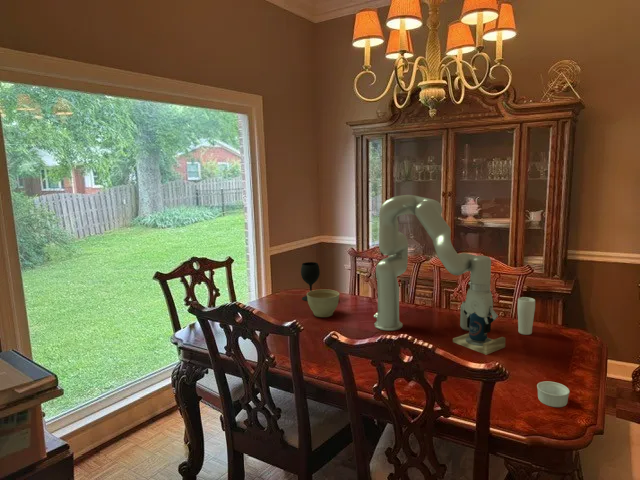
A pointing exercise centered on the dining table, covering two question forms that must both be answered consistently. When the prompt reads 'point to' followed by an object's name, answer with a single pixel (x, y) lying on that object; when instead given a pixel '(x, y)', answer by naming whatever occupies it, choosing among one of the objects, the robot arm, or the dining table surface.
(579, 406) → the dining table surface
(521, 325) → the drinking glass
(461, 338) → the holder board
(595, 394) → the dining table surface
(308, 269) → the wine glass
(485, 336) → the soda can
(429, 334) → the dining table surface
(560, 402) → the ramekin
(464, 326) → the can
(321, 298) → the planter bowl
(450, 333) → the dining table surface
